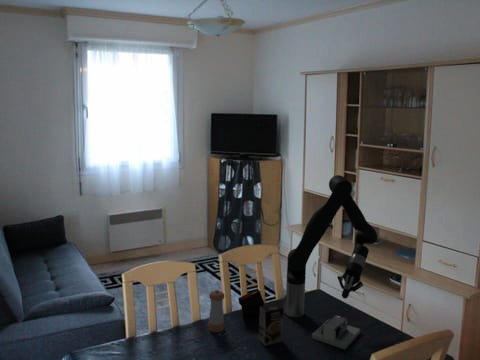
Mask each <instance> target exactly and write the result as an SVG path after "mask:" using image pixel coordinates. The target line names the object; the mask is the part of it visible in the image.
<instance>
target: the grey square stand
mask: <svg viewBox="0 0 480 360" xmlns="http://www.w3.org/2000/svg"><path fill="white" fill-rule="evenodd" d="M328 320H330V318H329V319H327V320H326V321H325V322H324V323H323V324H322V325H321V326H319V327H318V328H317V329H316V330H315V331H314V332H313V333H312V334H311V339H313V340H316V341H318V342H322V343H324V344H328V345H330V346H333V347H336V348H339V349H342V350H346V349H347V348H348V347H349V346H350V345H351V344H352V343H353V341H355V339H356V338H358V336H359V335H360V333H361V329H360V328H358V327H355V326H351V325H350V324H349V325H348V320H347V321H345V322H344V324H343V327H344V326H345V325H346V324H347V325H348V328H347V330H349V332H348V334H347V335H346V336H345V337H344V338H343V339H342V340H339V339H336V338H335V337H336V331H335V327H332V326H329V325H326V324H325V323H326V322H327V321H328ZM323 325H324V330H323V334H321V330H322V326H323Z"/></svg>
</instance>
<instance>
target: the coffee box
mask: <svg viewBox="0 0 480 360" xmlns="http://www.w3.org/2000/svg"><path fill="white" fill-rule="evenodd" d="M284 314H285V313H284V306H282V305H280V304H278V302H275V303H271V304H264V306H260V317H259V320H258V322H259V323H258V340H259V341H260V343H262V344H263V346H265V347H266V346H269V345H273V344H277V343H282V342H283V330H284Z"/></svg>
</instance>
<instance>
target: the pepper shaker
mask: <svg viewBox="0 0 480 360" xmlns="http://www.w3.org/2000/svg"><path fill="white" fill-rule="evenodd" d="M208 296H209V297H208V298H209V299H210V310H209V315H208V316H209V321H208V330H209V331H210V332H212V333H221V332H223V331H224V330H225V320H224V307H223V300H224V298H225V294H224V292H223V291H221V290H218V289H215V290H212V291H211V292H210V293H209V295H208Z"/></svg>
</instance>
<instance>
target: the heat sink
mask: <svg viewBox="0 0 480 360" xmlns="http://www.w3.org/2000/svg"><path fill="white" fill-rule="evenodd" d="M331 319H332V318H331ZM331 319H330V318H329V320H328V319H327V320H328V321H327V320H326V321H327V322H326V321H325V322H326V323H325V322H324V323H325V324H327V323H328V322H329V321H330V320H331ZM343 324H344V323H343ZM343 324H342V325H341V326H340V327H339V328H338V329H337V330H336V337H335V338H336V339H339V340H342V339H343V338H344V337H345V336H346V335H347V334H348V332H349V330H347V328H348V323H347V324H346V325H345V326H344V327H343ZM322 325H323V324H322ZM322 325H321V326H322ZM323 330H324V325H323V326H322V330H321V334H323Z"/></svg>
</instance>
